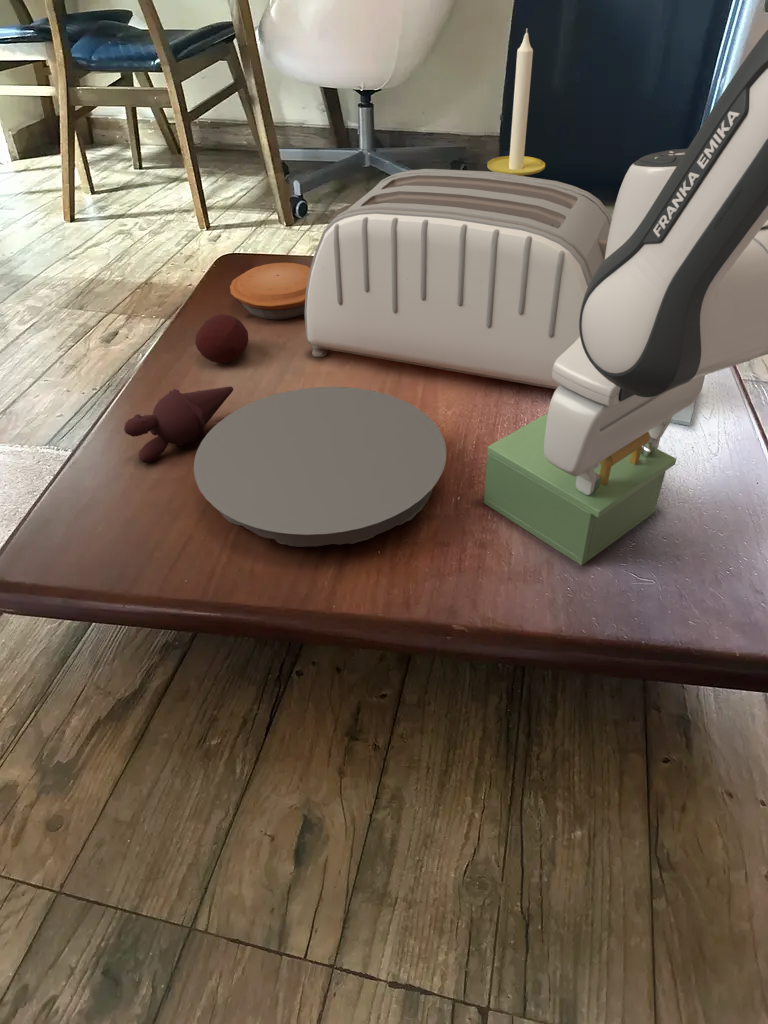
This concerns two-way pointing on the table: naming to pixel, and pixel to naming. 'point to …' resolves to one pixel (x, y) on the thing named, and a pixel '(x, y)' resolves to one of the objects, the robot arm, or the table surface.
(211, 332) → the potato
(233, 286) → the pie
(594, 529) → the green box
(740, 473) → the table surface
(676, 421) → the tile
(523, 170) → the candle
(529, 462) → the box lid
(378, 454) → the flat disc
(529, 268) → the toaster
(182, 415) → the gnome figurine
